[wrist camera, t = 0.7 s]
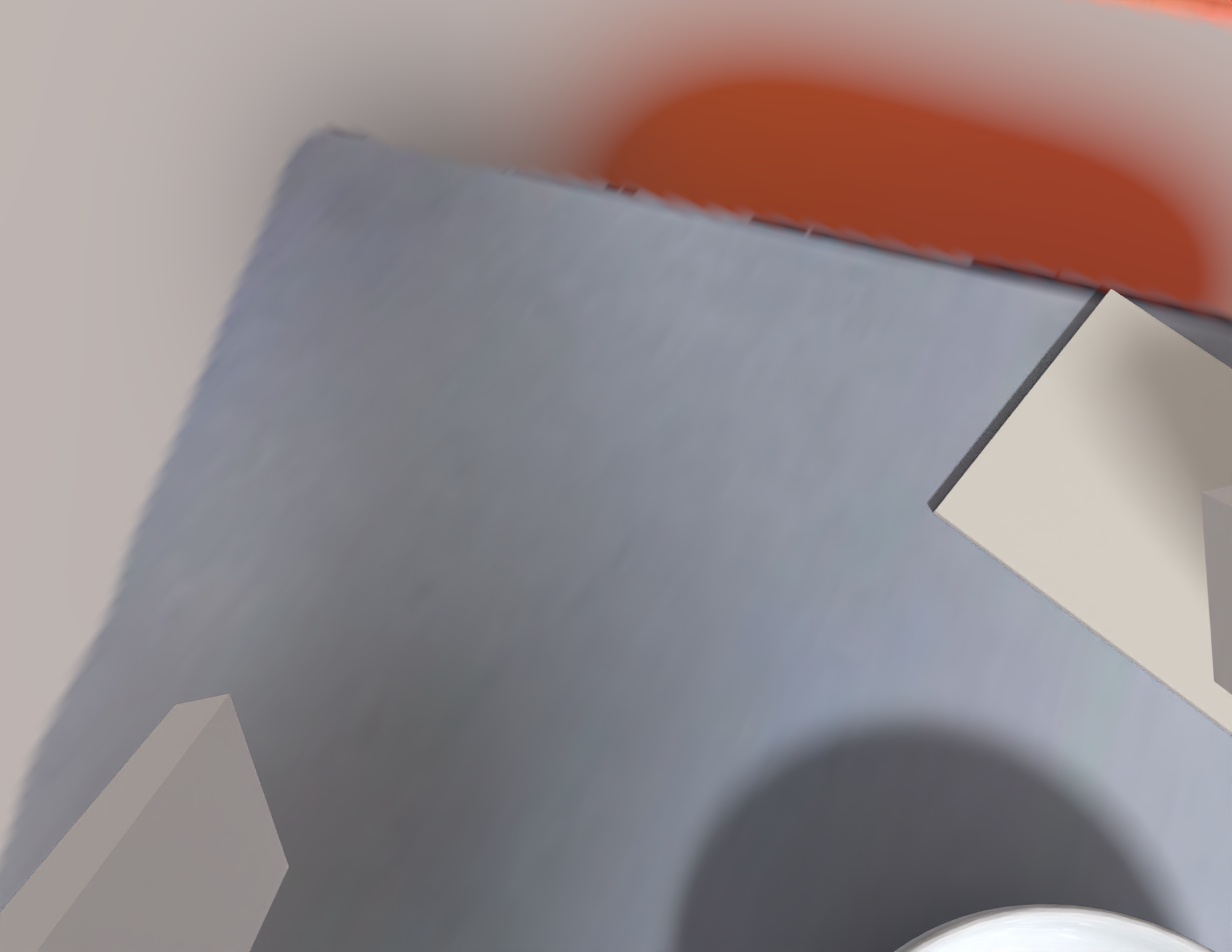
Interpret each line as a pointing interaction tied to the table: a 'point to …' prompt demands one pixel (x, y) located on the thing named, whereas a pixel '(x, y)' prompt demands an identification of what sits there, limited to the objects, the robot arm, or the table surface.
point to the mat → (1114, 492)
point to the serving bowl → (1050, 932)
